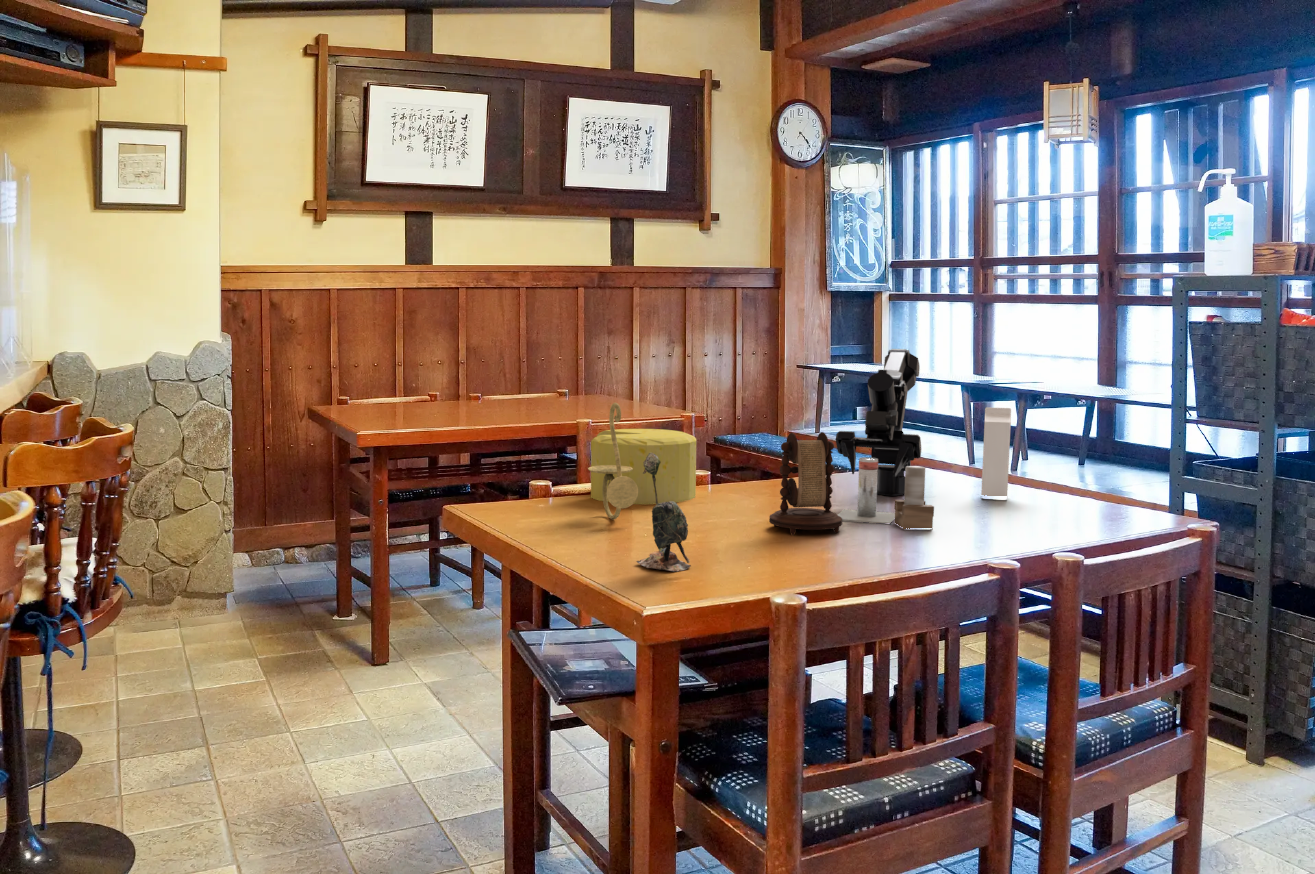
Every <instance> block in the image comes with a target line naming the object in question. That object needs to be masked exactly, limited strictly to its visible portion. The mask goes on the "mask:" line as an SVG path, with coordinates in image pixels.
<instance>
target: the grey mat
mask: <svg viewBox="0 0 1315 874" xmlns="http://www.w3.org/2000/svg"><path fill="white" fill-rule="evenodd" d="M837 515H838V516H840V517H841V518H842V522H849V523H850V522H851V523H863V522H869V523H868V524H876V523H891V522H892V521H893V520H894V518H895V512H888V511H886V512H885V511H884V512H883V511H876V517H860V516H857V509H846V508H845V509H842V511H840V513H838V514H837ZM894 521H895V520H894ZM894 521H893V522H894ZM893 522H892V523H893ZM892 523H891V524H892Z"/></svg>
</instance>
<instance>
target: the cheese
mask: <svg viewBox="0 0 1315 874" xmlns="http://www.w3.org/2000/svg"><path fill="white" fill-rule="evenodd" d="M615 434H616V439H617V444H618V450H619V456H620V464H621V466H627V467H631V468H633V469H632V471H630V472H627V473H621V474H622V476H626V477H629V478H631V479H632V480H634V482H635V483H636V485H637V487H638V496H637V499H636V501H635V502H634V503H633V504H632V505H656V498H655V488H654V484H653V479H652V474H650V473H648V472H646V473H645V474H643V472H644V470H645V467H644V465H643V464H644V463H643V462H644V461H645V460H646V457H647V456H648V454H649V453H653V454H655V455H656V456H657V457H658V458H659V460H660V462H661V463H660V464H659V468H658V471H657V474H656V475H655V478H656V483H655V486H656V491H657V501H658V503H662V502H669V501H674V502H675V503H682V502H687V501H691V500H692V499H695V498H696V488H697V487H696V486H697V485H696V484H697V483H696V482H697V477H696V475H697V437H695V436H694V435H691V434H689V433H687V432H684V431H680V430H671V429H662V428H661V429H657V428H620V429H618V428H617V429H615ZM602 465H616V460H615V453H614V448H613V442H612V437H611V431H610V429H606V430H603V431H601V432H598V434H597V435H596V436H595V437H593V438H592V439H591V441H590V467H592V466H602ZM604 476H605V474H602V473H595V472H591V471H590V499H592V498H593V499H592V500H596V501H599V502H603V480H604ZM613 476H614V478H617V474H613ZM610 482H611V480H610ZM608 483H609V480H608V482H607V488H608ZM607 501H608V503H610V502H609V500H608V498H607Z"/></svg>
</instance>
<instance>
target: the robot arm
mask: <svg viewBox="0 0 1315 874" xmlns="http://www.w3.org/2000/svg"><path fill="white" fill-rule="evenodd" d="M883 363H884V364H883V369H878V370H877V372H876V373H874V374H872V375H871V376H869V378H868V379H867V392H868V396H869V401H870V404H871V410H868V411H866V412H865V413H866V414H865V421H864V423H865V424H864V426H865V429H864V434H865V436H866V437H858V436H856V434H855V431H850V430H848V431H847V430H839V431H837V433H836V436H835V444H836V448H837V453H838V454H839V455H842V457H844V458H847V459H848V462H849V465H850V470H851V474H852V475H854V474H855V472H856V462H857V454H856V453H857V447H859V448H870V449H871V454H870V455H871V458H877V459H878V477H877V495H880V496H881V495H882V496H886V497H887V496H888V497H898V496H902V495H903V494H904V495H905V469H906V466H912V464H911V462H912V461H914V460H915V459H921V456H922V439H921V437H920V435H919V434H915V433H913V434H911V433H904V431H903V427H904V419H905V413H906V412H905V411H906V406H907V399H908V392H909V391H910V390H911V389H912V388H914V386H915V385H916V382H917V381H916V380H917V378H919V376H920V370H921V369H920V360H919V358H918V356H915V355H914V354H912V353H911V352H910V350H909V349H907V348H891V349H888V351H887V355H885V356H884V362H883ZM904 495H903V496H904Z"/></svg>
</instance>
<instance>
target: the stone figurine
mask: <svg viewBox="0 0 1315 874" xmlns="http://www.w3.org/2000/svg"><path fill="white" fill-rule="evenodd" d="M643 463H644V464H643V465H644V467H645V470H644V472H643V474H645V473H646V472H648V473H650V474H652V479H653V484H654V488H655V498H656V504H655V505H654V507H652V509H651V510H652V511H651V514H652V515H651V521H652V522H651V523H652V536H653V537H654V544H655V545H656V547H657V549H658V551H652V552H650V553H649V555H648V557H647V558H643V559H640V560H636V563H637V564H639V565H640V566H643V567H645V568H646V569H654V570H655V569H656V570H659V571H660V570H664V571H670V572H674V573H676V572H679V571H681V572H682V571H686V570H688V569H690V567H692V565H691V564H689V563H690V562H691V561H690V559H689V558H688V556H687V555H686V553H685V549H684V546H683V544H682V542H685V541H686V540H687V539H688V534H689V530H688V529H689V528H688V526H689V524H688V523H687V517H686V515H685V513H684V511H683V510H682V508H681V507H680V506H679V504H677V503H678V502H677V503H675V502H674V501H669V502H662V503H658V501H657V491H656V486H655V483H656V478H655V475H656V474H657V471H658V468H659V464H660V463H661V462H660V460H659V458H658V457H657V456H656V455H655V454H653V453H649V454H648V456H647V457H646V460H645V461H644V462H643ZM672 544H676V545H677V546H678V548H679V550H680V553H681V555H682V556H683V558H684V560H685V561H686V562H684V561H683V560H680V559H679V558H678V556H677V554H676V553H675V552H673V551H672V550H671V546H672Z"/></svg>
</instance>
